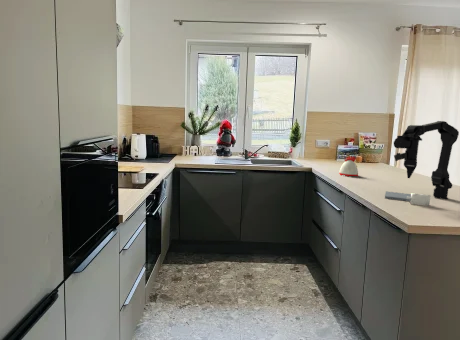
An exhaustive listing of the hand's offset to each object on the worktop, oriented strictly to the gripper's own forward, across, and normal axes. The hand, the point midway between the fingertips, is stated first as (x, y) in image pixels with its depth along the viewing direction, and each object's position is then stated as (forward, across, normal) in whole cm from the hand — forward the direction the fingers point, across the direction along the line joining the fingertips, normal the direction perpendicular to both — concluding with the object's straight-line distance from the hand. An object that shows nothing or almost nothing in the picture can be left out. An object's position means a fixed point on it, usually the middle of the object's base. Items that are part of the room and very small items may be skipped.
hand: (408, 177), depth 200 cm
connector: (+12, +9, +7) cm, 17 cm away
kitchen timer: (+13, -70, -42) cm, 82 cm away
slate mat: (+12, -2, -3) cm, 13 cm away
